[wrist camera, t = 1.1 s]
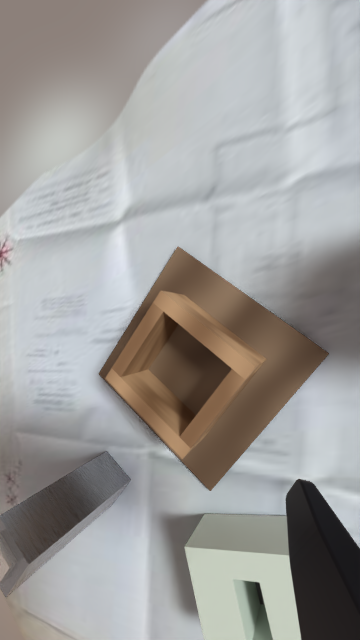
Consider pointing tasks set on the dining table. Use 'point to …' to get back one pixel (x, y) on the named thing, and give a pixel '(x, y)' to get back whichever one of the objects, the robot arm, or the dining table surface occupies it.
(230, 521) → the narrow slot block
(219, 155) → the dining table surface
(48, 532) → the square bit
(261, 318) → the square sleeve
